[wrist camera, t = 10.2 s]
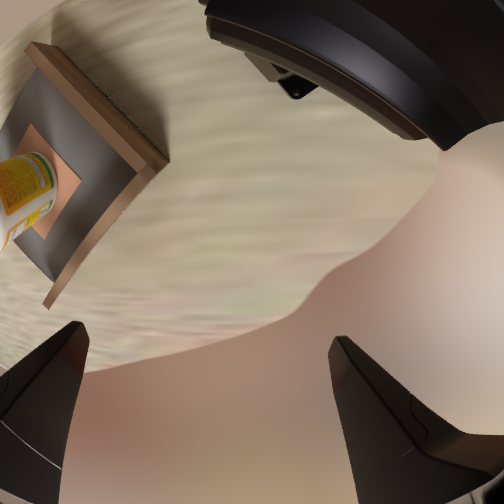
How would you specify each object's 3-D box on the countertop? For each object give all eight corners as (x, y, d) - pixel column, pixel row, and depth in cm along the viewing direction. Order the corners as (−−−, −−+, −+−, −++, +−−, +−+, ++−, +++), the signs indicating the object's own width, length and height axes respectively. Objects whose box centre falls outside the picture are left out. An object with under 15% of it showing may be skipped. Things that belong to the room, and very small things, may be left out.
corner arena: (57, 46, 11) (30, 41, 8) (170, 161, 17) (156, 173, 14) (-20, 192, 16) (-42, 206, 13) (64, 286, 21) (48, 309, 18)
